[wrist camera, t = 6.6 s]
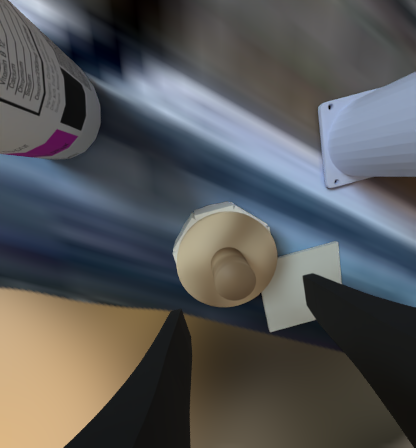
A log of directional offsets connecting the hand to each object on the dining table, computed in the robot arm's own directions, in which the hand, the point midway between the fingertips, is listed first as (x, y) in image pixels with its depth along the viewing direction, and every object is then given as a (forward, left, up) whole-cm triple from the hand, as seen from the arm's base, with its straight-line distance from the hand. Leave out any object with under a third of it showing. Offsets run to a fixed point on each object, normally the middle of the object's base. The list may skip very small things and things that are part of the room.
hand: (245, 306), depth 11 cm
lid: (0, 0, -7) cm, 7 cm away
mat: (-8, +8, -10) cm, 15 cm away
